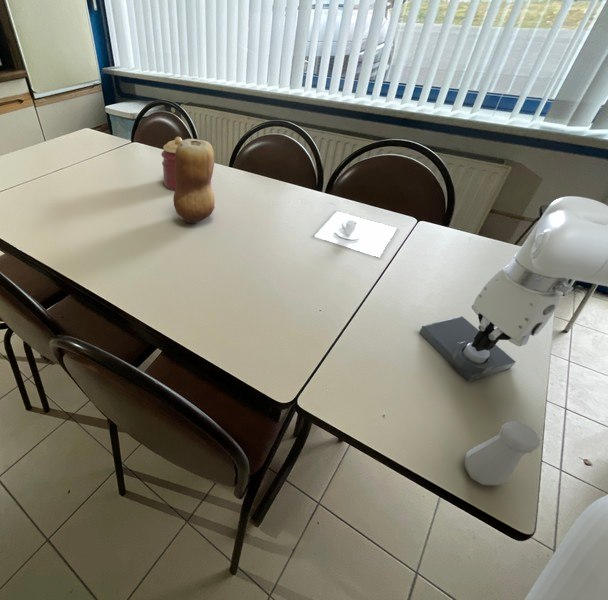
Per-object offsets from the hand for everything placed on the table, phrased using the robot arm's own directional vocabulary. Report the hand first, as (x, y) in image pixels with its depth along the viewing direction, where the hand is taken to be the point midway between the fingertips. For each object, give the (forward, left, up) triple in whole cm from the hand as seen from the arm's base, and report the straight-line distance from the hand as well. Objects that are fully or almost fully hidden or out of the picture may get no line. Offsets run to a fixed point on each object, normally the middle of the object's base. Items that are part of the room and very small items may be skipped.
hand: (480, 347), depth 72 cm
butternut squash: (+76, +38, -6) cm, 85 cm away
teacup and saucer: (+53, -9, -6) cm, 54 cm away
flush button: (0, 0, -3) cm, 2 cm away
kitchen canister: (+104, +36, -6) cm, 110 cm away
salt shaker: (-18, +15, -6) cm, 24 cm away
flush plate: (+4, -3, -6) cm, 8 cm away
